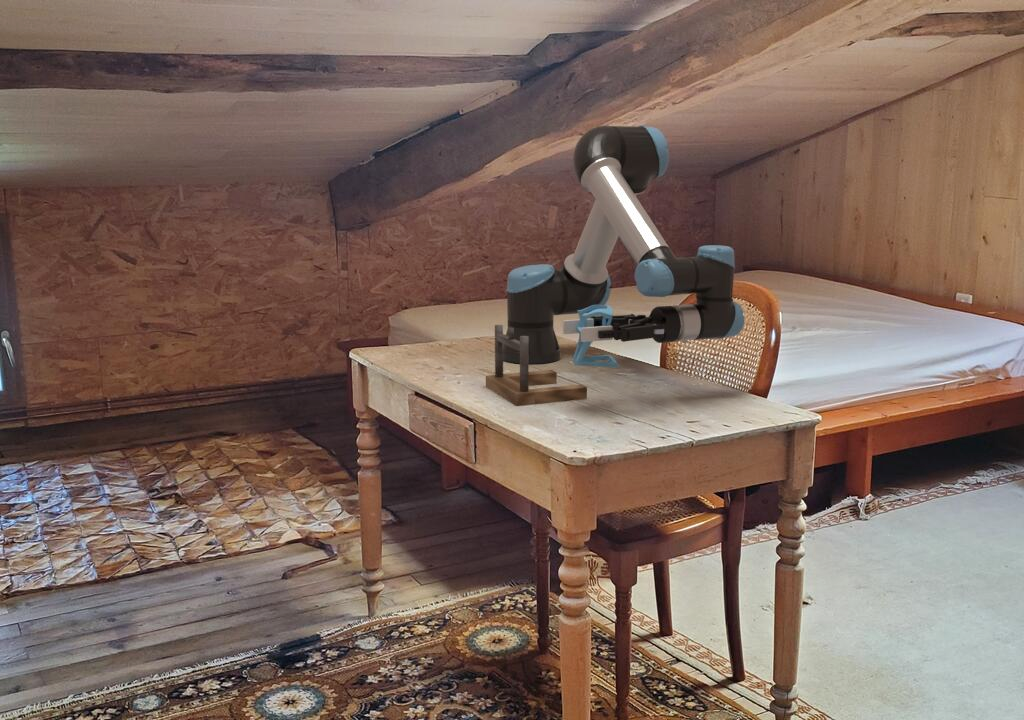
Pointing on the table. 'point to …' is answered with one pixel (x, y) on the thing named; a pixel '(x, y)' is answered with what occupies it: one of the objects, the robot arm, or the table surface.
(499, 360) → the wooden post frame
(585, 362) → the chair
